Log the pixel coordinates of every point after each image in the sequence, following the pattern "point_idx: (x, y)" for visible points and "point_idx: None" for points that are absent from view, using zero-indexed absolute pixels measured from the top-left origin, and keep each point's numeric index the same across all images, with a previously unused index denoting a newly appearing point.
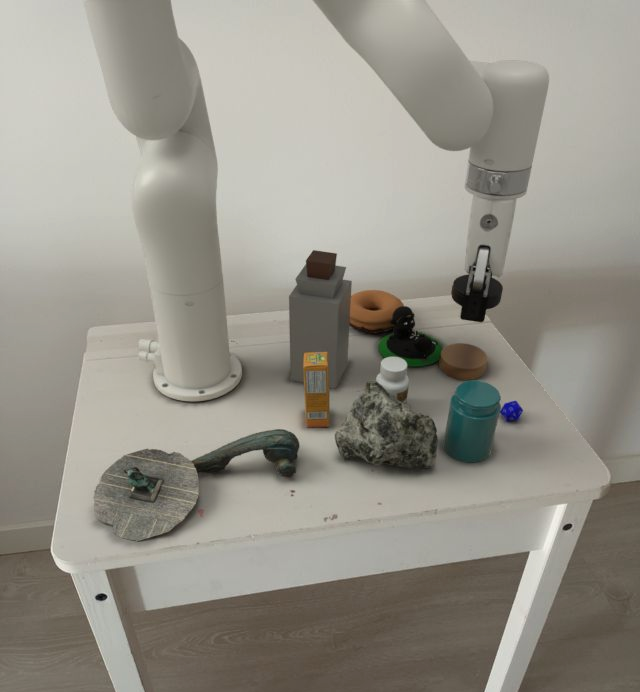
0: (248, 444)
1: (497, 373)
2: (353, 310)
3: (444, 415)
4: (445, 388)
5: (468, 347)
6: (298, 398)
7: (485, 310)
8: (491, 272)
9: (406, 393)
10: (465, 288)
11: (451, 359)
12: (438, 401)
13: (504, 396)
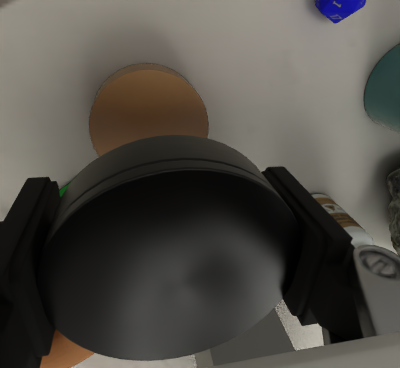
0: None
1: (150, 27)
2: (89, 355)
3: (318, 132)
4: (237, 142)
5: (107, 125)
6: (287, 308)
7: (307, 193)
8: (9, 271)
9: (350, 220)
10: (227, 315)
11: None
12: (279, 148)
13: (247, 7)
